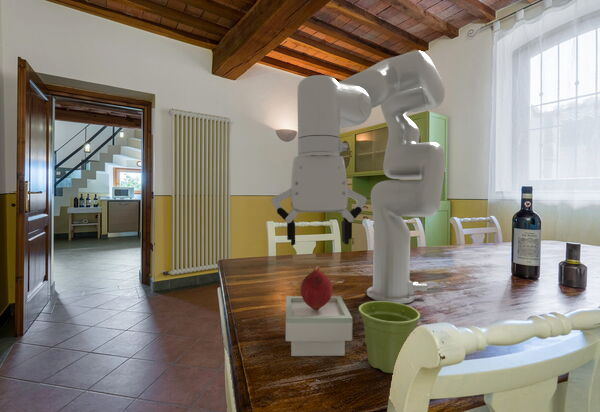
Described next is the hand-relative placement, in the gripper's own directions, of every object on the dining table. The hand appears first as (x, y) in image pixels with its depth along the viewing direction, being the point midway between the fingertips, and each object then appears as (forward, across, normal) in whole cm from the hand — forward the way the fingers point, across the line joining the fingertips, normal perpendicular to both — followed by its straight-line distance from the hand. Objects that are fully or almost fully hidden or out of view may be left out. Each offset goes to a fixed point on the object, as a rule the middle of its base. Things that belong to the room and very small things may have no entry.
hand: (319, 243), depth 55 cm
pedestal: (+18, +1, +1) cm, 18 cm away
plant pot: (+18, -10, +8) cm, 23 cm away
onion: (+12, +1, +1) cm, 12 cm away
